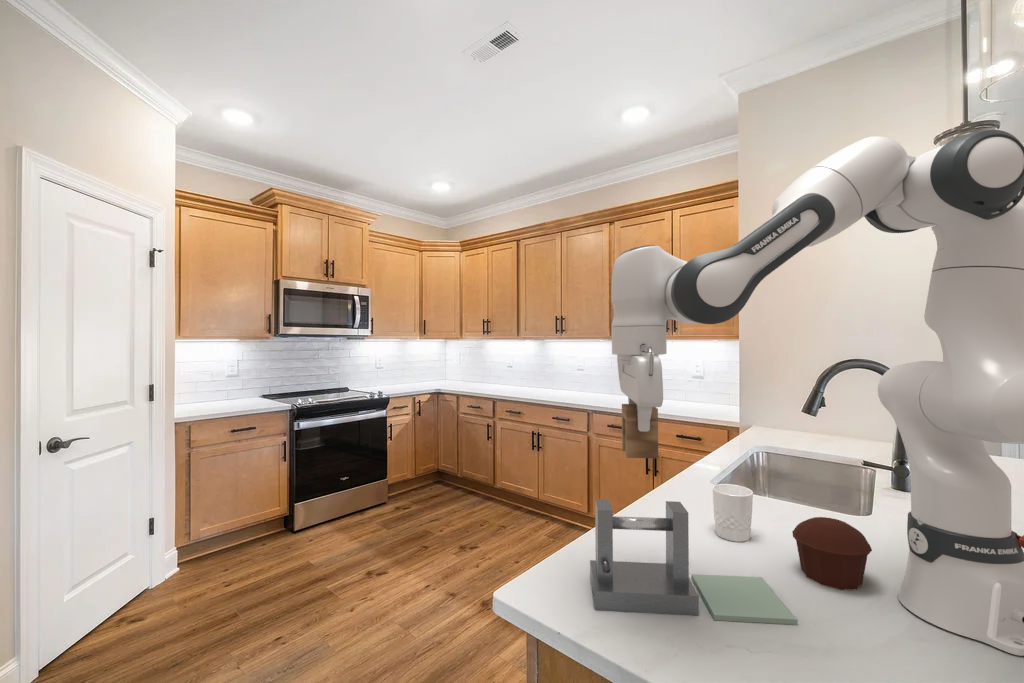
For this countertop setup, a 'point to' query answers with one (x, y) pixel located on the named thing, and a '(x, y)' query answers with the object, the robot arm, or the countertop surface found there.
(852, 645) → the countertop surface
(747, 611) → the mat
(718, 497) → the white cup
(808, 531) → the muffin
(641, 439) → the wooden block
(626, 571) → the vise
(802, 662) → the countertop surface
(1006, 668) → the countertop surface
